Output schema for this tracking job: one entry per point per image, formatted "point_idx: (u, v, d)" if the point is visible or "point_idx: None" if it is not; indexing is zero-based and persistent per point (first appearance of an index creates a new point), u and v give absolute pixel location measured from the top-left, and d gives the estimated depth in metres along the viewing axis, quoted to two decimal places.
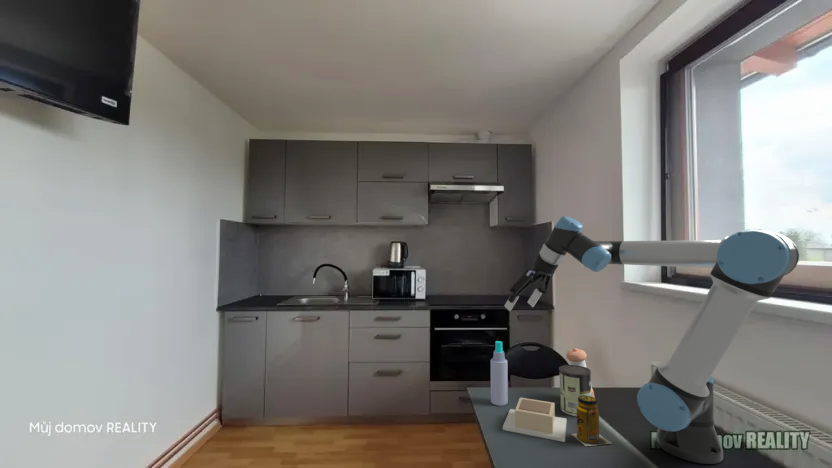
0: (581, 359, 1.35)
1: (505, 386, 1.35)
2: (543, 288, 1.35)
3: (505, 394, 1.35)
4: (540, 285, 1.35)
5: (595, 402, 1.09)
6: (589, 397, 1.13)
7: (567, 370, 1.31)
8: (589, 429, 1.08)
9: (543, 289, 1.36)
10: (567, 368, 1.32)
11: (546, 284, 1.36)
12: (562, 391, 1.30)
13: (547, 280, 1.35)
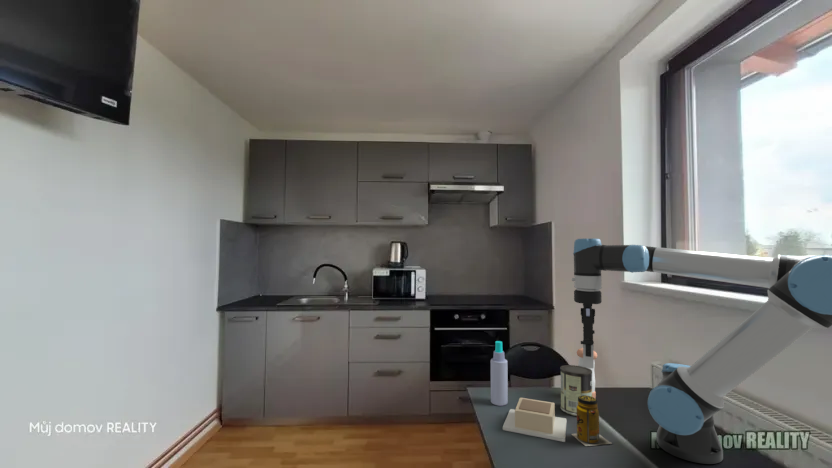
0: None
1: (505, 386, 1.35)
2: None
3: (505, 394, 1.35)
4: None
5: (595, 402, 1.09)
6: (589, 397, 1.13)
7: (568, 369, 1.31)
8: (589, 429, 1.08)
9: None
10: (568, 368, 1.33)
11: None
12: (563, 390, 1.30)
13: None
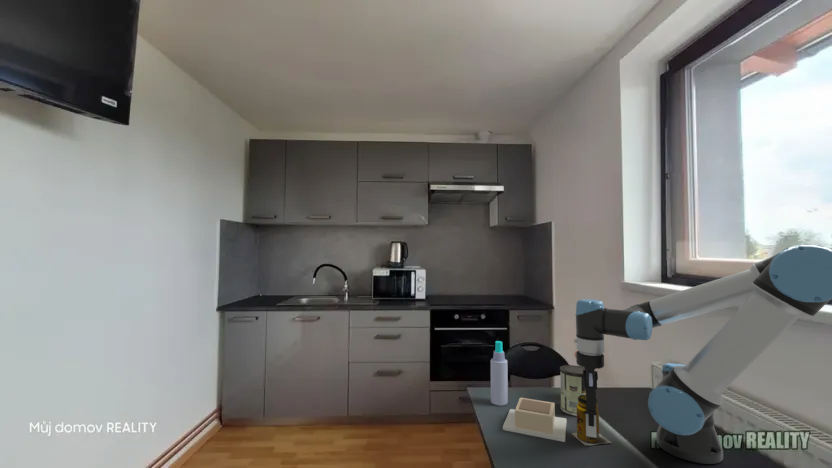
0: None
1: (505, 386, 1.35)
2: None
3: (505, 394, 1.35)
4: None
5: None
6: None
7: (568, 369, 1.31)
8: None
9: None
10: (568, 368, 1.33)
11: None
12: (563, 391, 1.30)
13: None
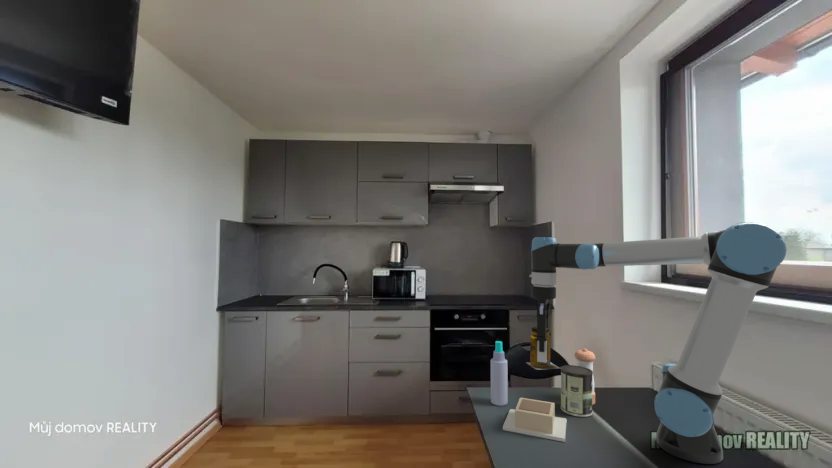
0: (591, 359, 1.36)
1: (505, 386, 1.35)
2: (548, 327, 1.22)
3: (505, 394, 1.35)
4: None
5: (546, 330, 1.17)
6: None
7: (569, 370, 1.31)
8: None
9: None
10: (568, 368, 1.32)
11: None
12: (564, 391, 1.29)
13: None
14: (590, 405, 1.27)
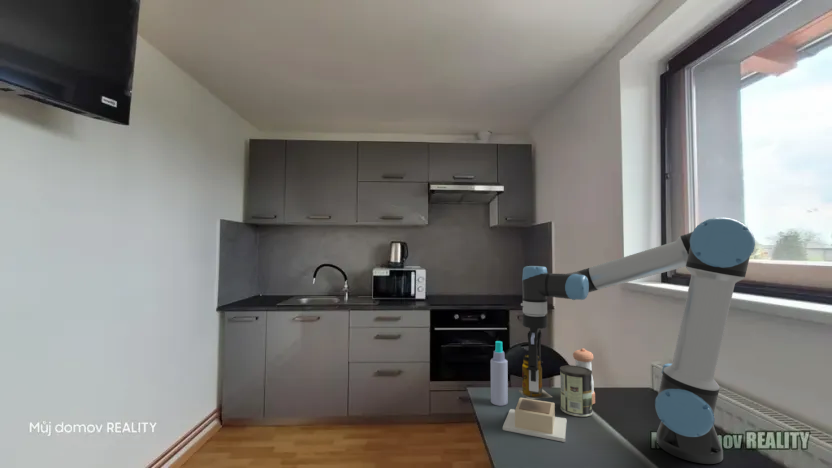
0: (590, 359, 1.36)
1: (505, 386, 1.35)
2: (539, 355, 1.23)
3: (505, 394, 1.35)
4: None
5: (538, 359, 1.18)
6: None
7: (568, 370, 1.31)
8: None
9: None
10: (568, 368, 1.32)
11: None
12: (564, 391, 1.29)
13: None
14: (590, 405, 1.27)
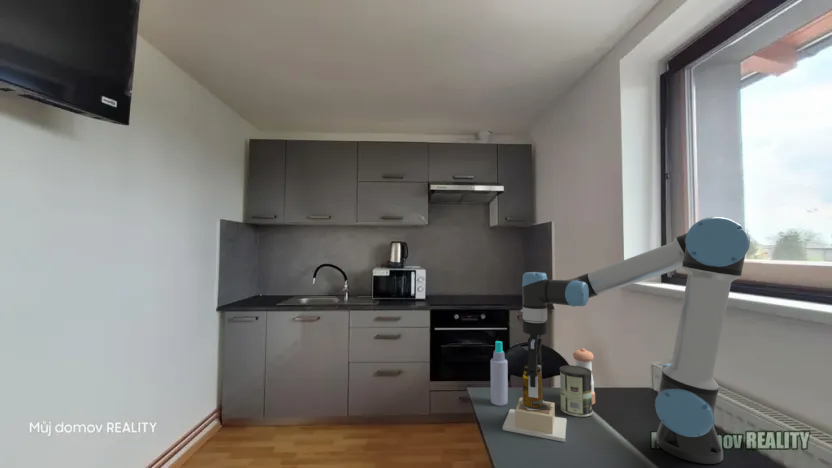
0: (590, 359, 1.36)
1: (505, 386, 1.35)
2: (540, 358, 1.24)
3: (505, 394, 1.35)
4: None
5: (538, 370, 1.18)
6: None
7: (568, 370, 1.31)
8: None
9: (540, 359, 1.25)
10: (567, 368, 1.32)
11: None
12: (564, 391, 1.29)
13: None
14: (590, 405, 1.27)
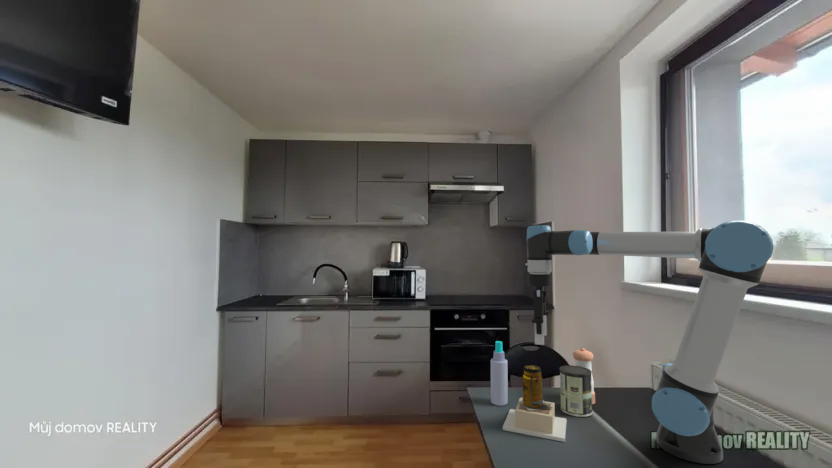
0: (590, 359, 1.36)
1: (505, 386, 1.35)
2: (545, 309, 1.26)
3: (505, 394, 1.35)
4: None
5: (538, 370, 1.18)
6: (534, 366, 1.21)
7: (568, 370, 1.31)
8: (533, 395, 1.17)
9: (545, 310, 1.27)
10: (567, 369, 1.32)
11: None
12: (564, 392, 1.29)
13: None
14: (590, 405, 1.27)
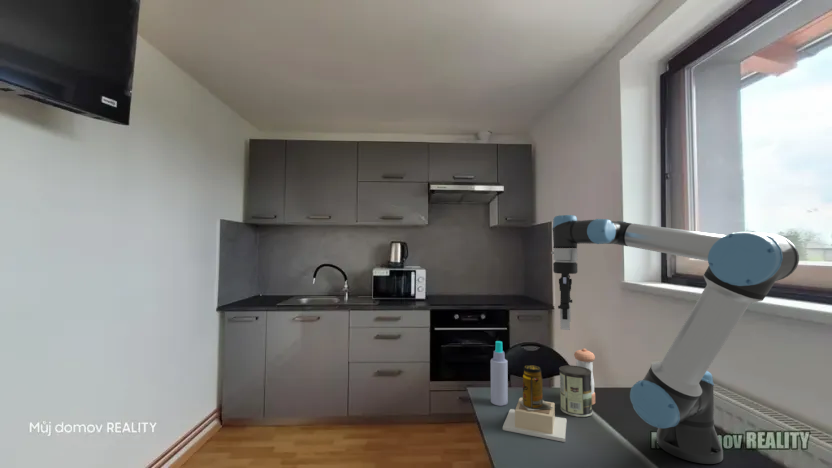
0: (591, 359, 1.36)
1: (505, 386, 1.35)
2: (569, 296, 1.31)
3: (505, 394, 1.35)
4: None
5: (538, 370, 1.18)
6: (534, 366, 1.21)
7: (568, 370, 1.30)
8: (533, 395, 1.17)
9: (569, 298, 1.31)
10: (567, 369, 1.32)
11: None
12: (564, 392, 1.29)
13: None
14: (590, 405, 1.27)
